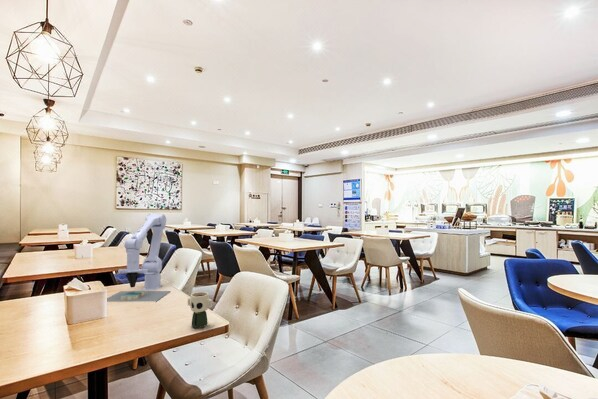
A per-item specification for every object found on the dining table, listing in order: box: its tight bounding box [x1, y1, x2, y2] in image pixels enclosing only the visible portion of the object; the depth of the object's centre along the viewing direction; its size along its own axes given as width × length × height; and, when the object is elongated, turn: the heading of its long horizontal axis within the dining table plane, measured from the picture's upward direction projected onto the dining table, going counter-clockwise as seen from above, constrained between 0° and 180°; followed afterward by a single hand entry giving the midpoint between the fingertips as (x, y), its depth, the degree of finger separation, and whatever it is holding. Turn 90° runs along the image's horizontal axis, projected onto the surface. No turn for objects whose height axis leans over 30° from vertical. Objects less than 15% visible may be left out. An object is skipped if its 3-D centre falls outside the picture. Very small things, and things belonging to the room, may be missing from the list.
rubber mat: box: [106, 290, 171, 303], centre depth 159 cm, size 18×28×1 cm, turn 92°
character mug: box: [187, 291, 213, 329], centre depth 121 cm, size 11×7×13 cm, turn 78°
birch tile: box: [121, 290, 145, 300], centre depth 157 cm, size 9×2×8 cm
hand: (132, 286), depth 157 cm, fingers closed
